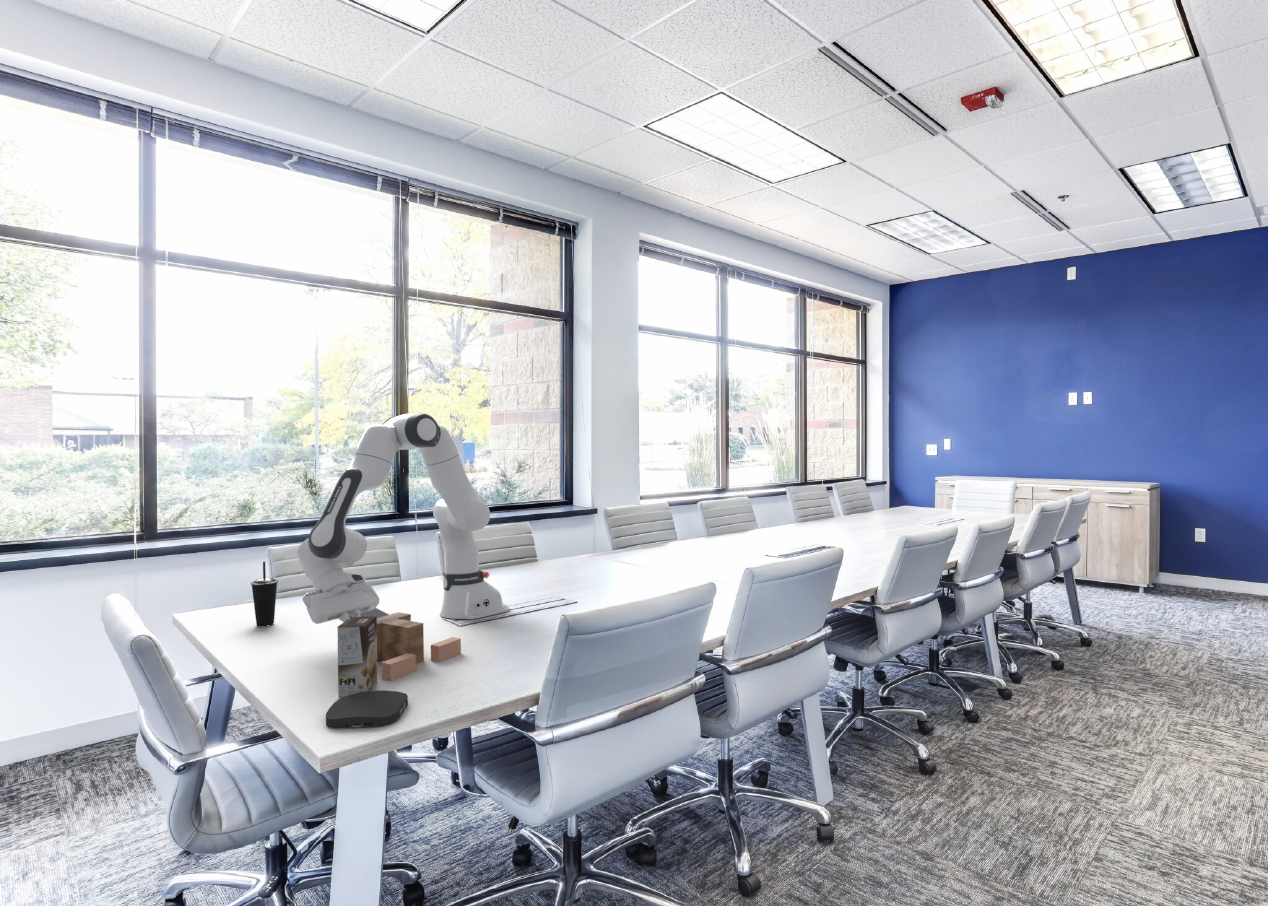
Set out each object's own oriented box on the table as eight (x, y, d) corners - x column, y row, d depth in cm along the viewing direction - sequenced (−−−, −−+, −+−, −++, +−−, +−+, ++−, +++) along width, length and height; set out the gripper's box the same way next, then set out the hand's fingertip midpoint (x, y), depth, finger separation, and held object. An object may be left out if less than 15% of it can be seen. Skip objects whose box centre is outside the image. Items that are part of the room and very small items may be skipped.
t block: (353, 663, 180) (352, 625, 179) (398, 647, 193) (397, 612, 192) (393, 672, 172) (393, 632, 172) (437, 655, 185) (437, 618, 185)
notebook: (391, 620, 224) (368, 608, 240) (391, 615, 224) (368, 604, 240) (351, 627, 216) (330, 614, 232) (351, 622, 216) (330, 610, 232)
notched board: (381, 678, 168) (381, 662, 168) (452, 651, 189) (452, 637, 189) (390, 680, 166) (390, 664, 166) (460, 653, 187) (460, 638, 187)
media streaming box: (344, 703, 153) (344, 690, 153) (411, 701, 154) (411, 688, 154) (319, 731, 139) (319, 716, 139) (394, 728, 140) (393, 714, 140)
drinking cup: (267, 628, 213) (265, 564, 213) (245, 627, 215) (244, 563, 214) (284, 622, 221) (283, 559, 220) (263, 621, 222) (262, 559, 222)
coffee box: (366, 696, 156) (365, 626, 156) (337, 697, 156) (336, 627, 155) (378, 682, 165) (377, 615, 165) (350, 683, 165) (349, 616, 165)
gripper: (305, 587, 184) (329, 628, 179) (368, 574, 202) (392, 611, 197) (294, 601, 186) (318, 643, 181) (358, 587, 204) (381, 625, 199)
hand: (357, 626), depth 189 cm, fingers closed
